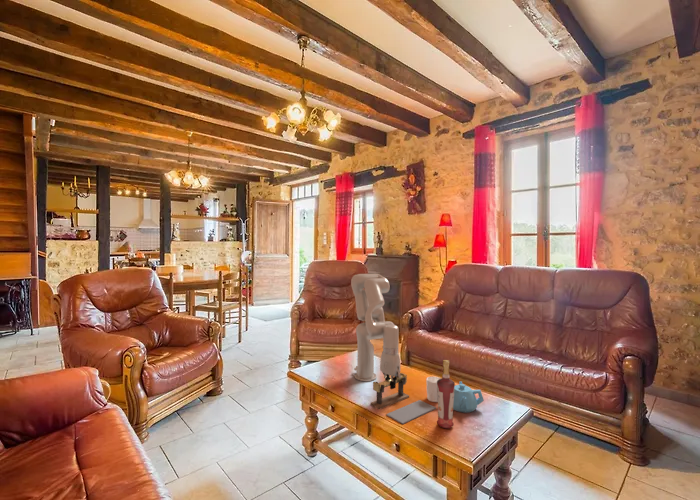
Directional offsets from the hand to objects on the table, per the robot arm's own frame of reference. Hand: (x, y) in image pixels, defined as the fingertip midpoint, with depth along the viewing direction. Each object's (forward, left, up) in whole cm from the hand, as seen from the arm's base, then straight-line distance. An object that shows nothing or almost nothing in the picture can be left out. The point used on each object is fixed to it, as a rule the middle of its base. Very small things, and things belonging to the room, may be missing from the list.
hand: (390, 387), depth 171 cm
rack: (0, 0, -7) cm, 7 cm away
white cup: (+12, +19, -7) cm, 24 cm away
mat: (+14, 0, -7) cm, 16 cm away
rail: (0, 0, +1) cm, 1 cm away
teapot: (+25, +23, -7) cm, 35 cm away
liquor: (+31, +2, -7) cm, 32 cm away
